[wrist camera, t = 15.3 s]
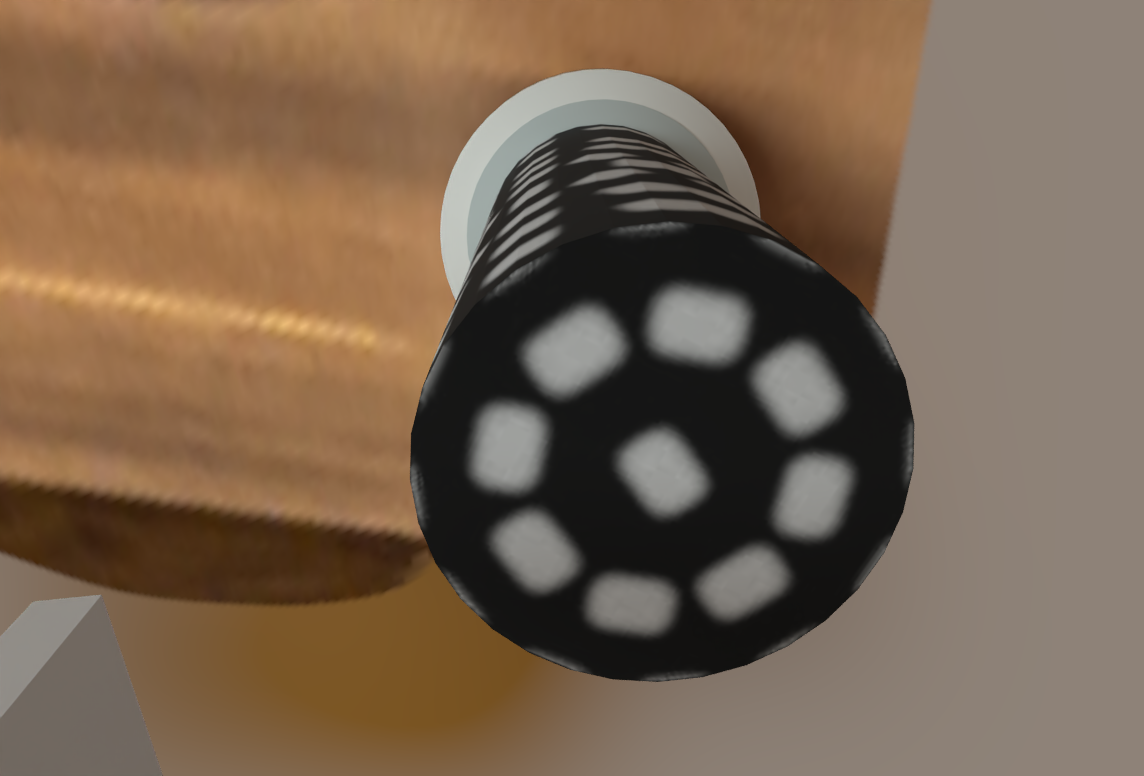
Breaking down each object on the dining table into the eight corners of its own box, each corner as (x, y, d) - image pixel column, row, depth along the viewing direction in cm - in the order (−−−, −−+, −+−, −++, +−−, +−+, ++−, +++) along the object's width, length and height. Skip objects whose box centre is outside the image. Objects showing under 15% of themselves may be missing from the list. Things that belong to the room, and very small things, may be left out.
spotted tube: (443, 211, 33) (303, 416, 14) (633, 75, 32) (751, 107, 13) (572, 385, 36) (594, 754, 17) (753, 267, 34) (999, 527, 15)
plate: (471, 378, 39) (464, 405, 36) (427, 86, 35) (415, 88, 32) (750, 350, 39) (766, 374, 36) (739, 52, 34) (756, 51, 32)
